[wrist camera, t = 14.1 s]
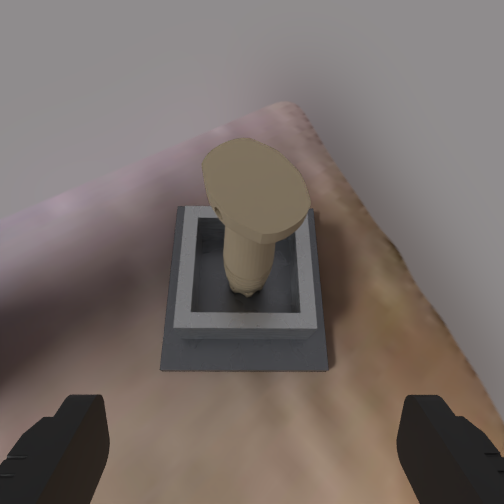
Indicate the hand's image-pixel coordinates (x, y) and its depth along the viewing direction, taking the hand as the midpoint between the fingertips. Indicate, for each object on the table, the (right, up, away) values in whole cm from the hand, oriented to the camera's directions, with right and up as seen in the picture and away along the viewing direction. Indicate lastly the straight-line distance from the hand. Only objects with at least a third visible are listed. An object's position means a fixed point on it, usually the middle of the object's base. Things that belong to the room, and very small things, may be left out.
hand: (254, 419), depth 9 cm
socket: (-1, +1, +24) cm, 24 cm away
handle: (-1, +2, +23) cm, 23 cm away
